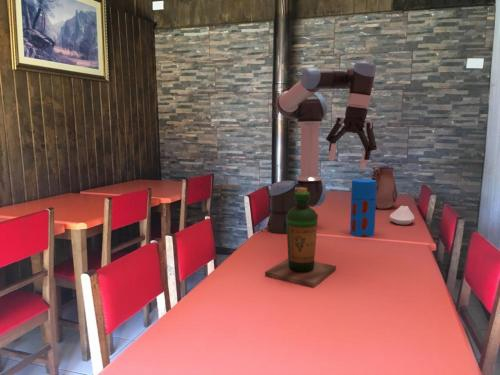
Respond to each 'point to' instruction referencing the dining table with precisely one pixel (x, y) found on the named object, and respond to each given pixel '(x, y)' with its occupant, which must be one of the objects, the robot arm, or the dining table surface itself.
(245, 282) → the dining table surface
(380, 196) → the ceramic pitcher
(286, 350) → the dining table surface
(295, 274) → the walnut board
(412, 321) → the dining table surface
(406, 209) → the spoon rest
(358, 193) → the thermos
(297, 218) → the bottle
